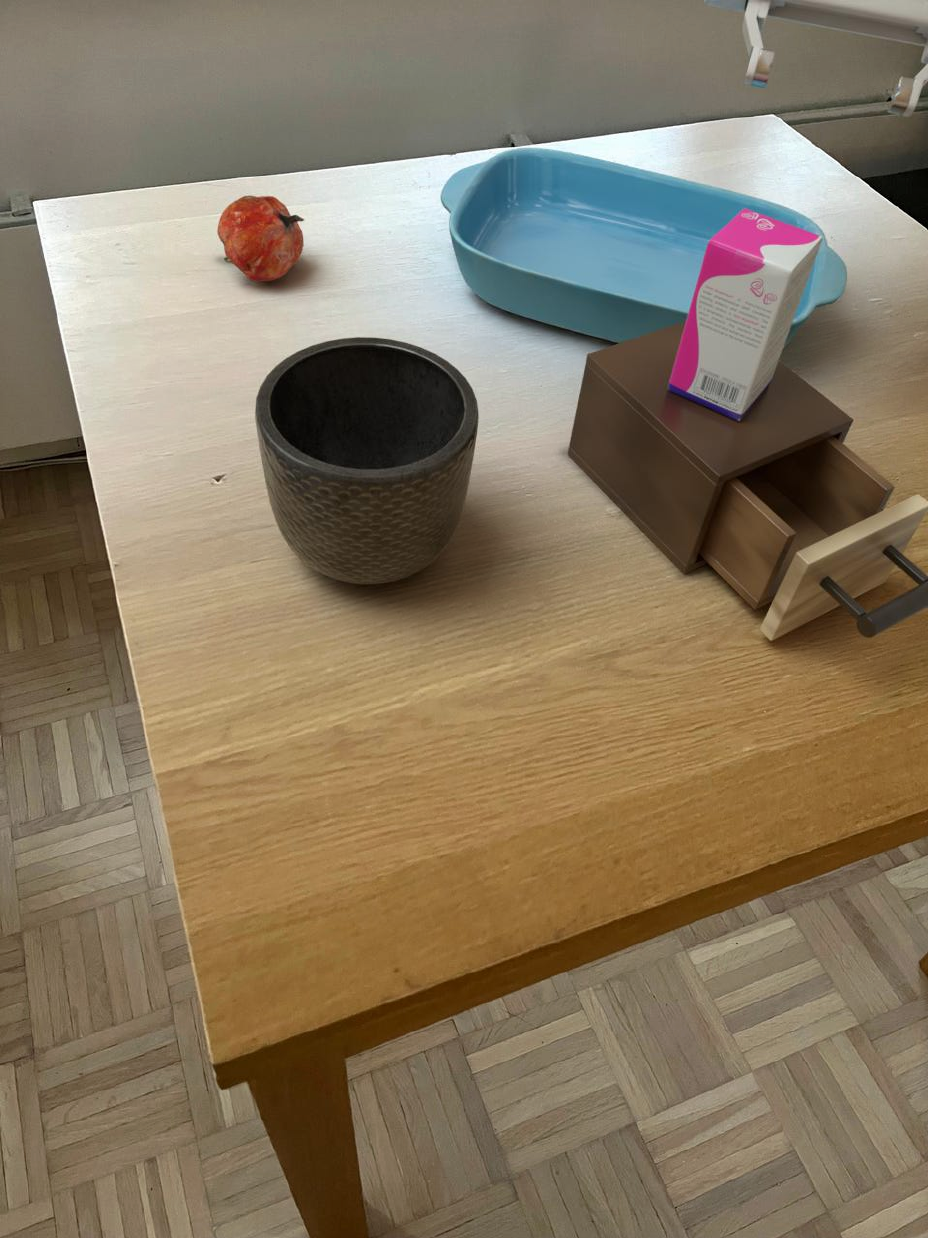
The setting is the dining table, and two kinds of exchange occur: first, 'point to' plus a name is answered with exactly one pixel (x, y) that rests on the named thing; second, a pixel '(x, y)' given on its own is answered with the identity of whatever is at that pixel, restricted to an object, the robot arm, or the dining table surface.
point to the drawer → (815, 539)
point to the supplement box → (742, 311)
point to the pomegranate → (260, 237)
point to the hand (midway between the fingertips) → (827, 97)
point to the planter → (366, 455)
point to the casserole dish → (601, 241)
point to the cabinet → (682, 438)
